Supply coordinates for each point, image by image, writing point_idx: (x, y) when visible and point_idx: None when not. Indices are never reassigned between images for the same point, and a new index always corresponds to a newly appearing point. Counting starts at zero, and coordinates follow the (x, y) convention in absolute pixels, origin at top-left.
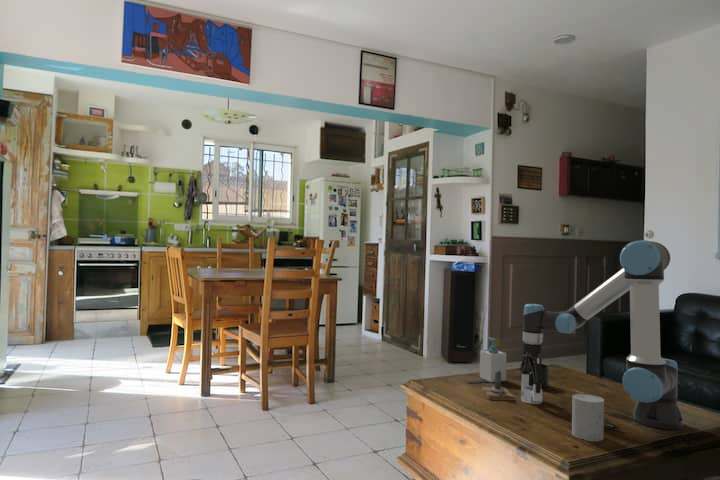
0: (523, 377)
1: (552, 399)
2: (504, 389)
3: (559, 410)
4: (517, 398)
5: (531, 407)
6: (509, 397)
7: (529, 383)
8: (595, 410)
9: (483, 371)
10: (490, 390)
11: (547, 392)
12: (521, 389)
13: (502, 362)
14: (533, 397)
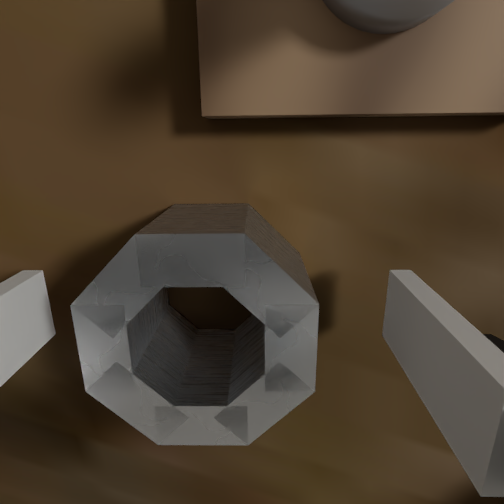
0: (467, 371)
1: (283, 457)
2: (497, 81)
3: (15, 414)
4: (284, 179)
5: (25, 226)
6: (200, 58)
7: None
8: None
9: None
10: None
11: (466, 483)
12: (233, 226)
13: None
14: (10, 283)
